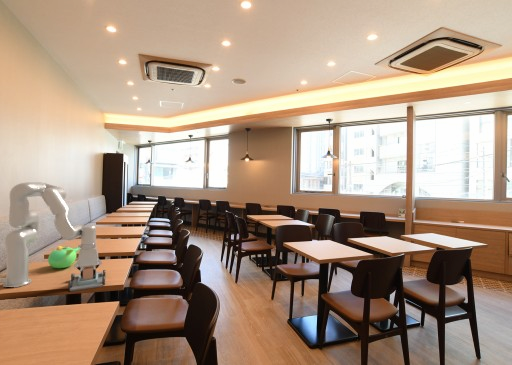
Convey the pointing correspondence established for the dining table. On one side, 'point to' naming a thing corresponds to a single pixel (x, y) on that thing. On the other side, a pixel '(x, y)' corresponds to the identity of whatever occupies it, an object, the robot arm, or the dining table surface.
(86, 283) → the chassis
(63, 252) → the toy bird
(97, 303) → the dining table surface
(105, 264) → the dining table surface
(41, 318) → the dining table surface
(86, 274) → the terracotta rectangular box
